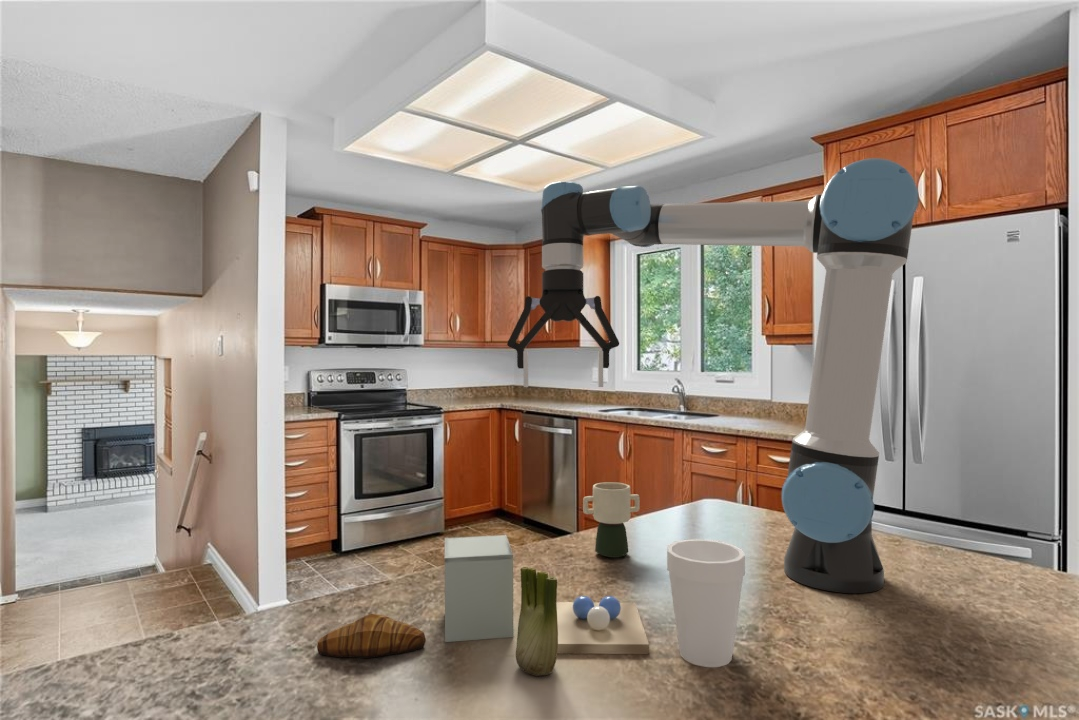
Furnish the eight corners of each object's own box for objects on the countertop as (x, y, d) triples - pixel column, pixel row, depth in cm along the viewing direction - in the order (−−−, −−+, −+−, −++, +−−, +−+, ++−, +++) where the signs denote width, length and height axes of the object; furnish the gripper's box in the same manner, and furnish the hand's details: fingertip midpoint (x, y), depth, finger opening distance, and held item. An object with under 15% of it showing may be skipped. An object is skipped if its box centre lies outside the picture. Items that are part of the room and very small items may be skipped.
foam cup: (749, 677, 71) (749, 565, 71) (667, 670, 73) (667, 560, 72) (739, 640, 80) (739, 541, 80) (667, 634, 82) (667, 537, 82)
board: (635, 610, 89) (635, 602, 89) (649, 654, 76) (649, 644, 76) (525, 610, 90) (525, 602, 90) (521, 653, 77) (521, 643, 77)
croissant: (310, 669, 74) (309, 628, 73) (323, 643, 80) (322, 605, 80) (423, 662, 75) (423, 622, 75) (427, 637, 82) (427, 600, 82)
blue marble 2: (619, 613, 85) (619, 592, 85) (621, 623, 82) (621, 601, 82) (598, 613, 86) (597, 592, 85) (599, 623, 82) (599, 601, 82)
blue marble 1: (593, 613, 86) (593, 592, 85) (595, 623, 83) (595, 601, 82) (572, 613, 86) (572, 592, 86) (573, 623, 83) (572, 600, 83)
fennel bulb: (563, 679, 71) (563, 575, 71) (522, 686, 69) (522, 580, 69) (548, 655, 76) (548, 559, 76) (510, 661, 75) (510, 563, 75)
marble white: (608, 624, 82) (608, 602, 82) (611, 634, 79) (610, 611, 79) (586, 624, 82) (586, 602, 82) (587, 634, 79) (587, 611, 79)
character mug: (633, 547, 119) (633, 481, 119) (645, 559, 112) (645, 488, 112) (579, 550, 117) (578, 483, 117) (587, 563, 110) (587, 491, 110)
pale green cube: (506, 609, 90) (506, 534, 90) (513, 636, 81) (513, 554, 81) (445, 613, 89) (444, 537, 89) (445, 642, 80) (444, 558, 80)
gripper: (628, 272, 115) (629, 385, 115) (496, 273, 115) (496, 385, 115) (634, 266, 107) (634, 387, 107) (492, 267, 108) (493, 388, 108)
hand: (563, 386), depth 111 cm, fingers open, 13 cm apart
